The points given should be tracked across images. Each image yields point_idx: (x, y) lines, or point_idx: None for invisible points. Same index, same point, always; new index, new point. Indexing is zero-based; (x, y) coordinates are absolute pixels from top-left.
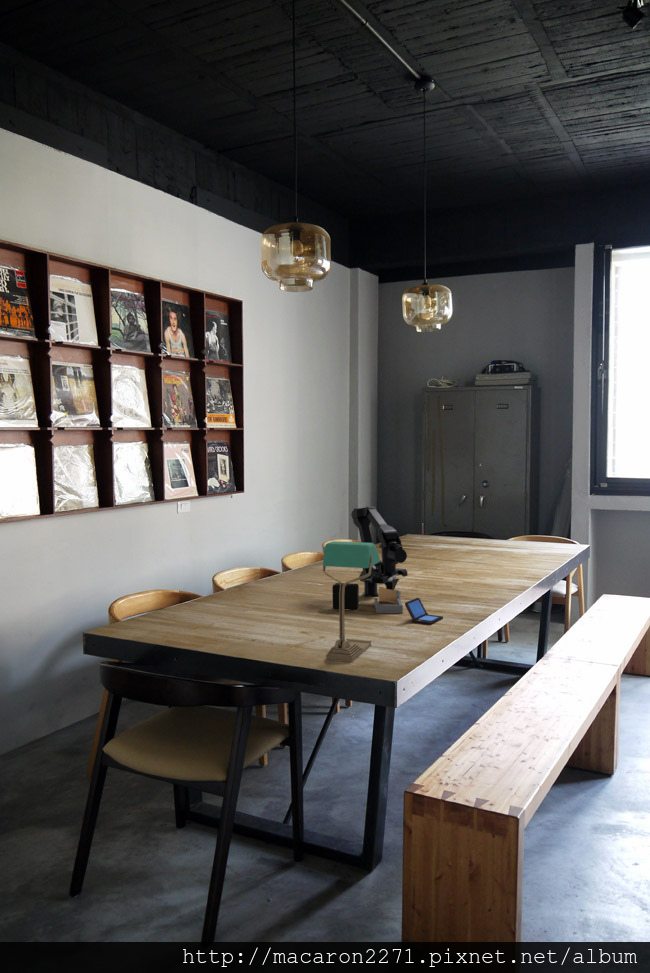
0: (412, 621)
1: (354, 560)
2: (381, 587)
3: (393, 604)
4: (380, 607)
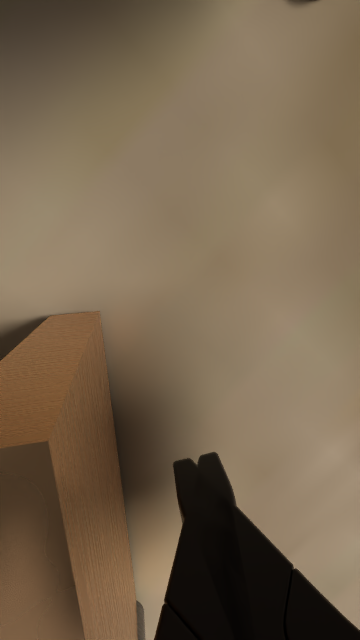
0: None
1: None
2: (13, 514)
3: None
4: None
